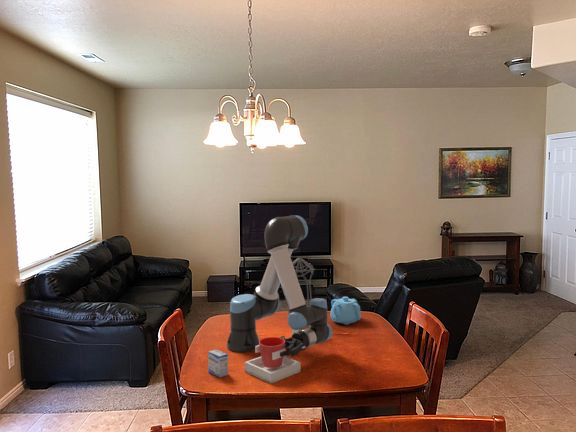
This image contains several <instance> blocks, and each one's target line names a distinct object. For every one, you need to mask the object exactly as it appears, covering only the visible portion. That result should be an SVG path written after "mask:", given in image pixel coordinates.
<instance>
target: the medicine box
mask: <svg viewBox="0 0 576 432" xmlns="http://www.w3.org/2000/svg"><path fill="white" fill-rule="evenodd" d="M207 364H208V365H207V366H208V367H207V368H208V370H207V372H208V373H209V374H211V375H214V376H215V377H217V378H222V377H225V376H228V375H229V355H228V353H226V352H223V351H221V350H219V349H212V350H209V351H207Z"/></svg>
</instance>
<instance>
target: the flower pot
mask: <svg viewBox="0 0 576 432" xmlns="http://www.w3.org/2000/svg"><path fill="white" fill-rule="evenodd" d="M279 337H280V336H279ZM279 337H278V336H269V337H267V336H266V337H264V338H261V339H259V346H260V352H259V353H260V357H262V362H263V365H264V366H265V367H267V368H277V367H279V366H281V365H282V361H283V357H280V358H278V359H275V360H272V353H273V352H276V351H279V350H282V349H286V347H285V340H284V339H282V338H279Z"/></svg>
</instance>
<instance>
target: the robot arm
mask: <svg viewBox="0 0 576 432" xmlns="http://www.w3.org/2000/svg"><path fill="white" fill-rule="evenodd" d="M308 226H309V225H307V221H306V220H305V219H304V218H303V217H302V216H300V215H293V214H292V215H288V216H276V217H274V218H272V219H271V220H269V221H268V222H267V224H266V226H265V229H264V235H263V237H264V244H265V248H266V250H267V253H268V254H270V258H269V260H268V264H267V266H266V269H265V272H264V274H263V277H262V279H261V283H260V285H258V286H256V287H255V290H254V293H253V294H250V293H243V294H238V295H236V296H234V297H232V298H231V299H230V305H229V317H230V332H229V334H228V338H227V343H226V348H227V349H228V350H229V351H232V352H237V353H245V352H246V353H247V352H252V351H254V352H255V354H258V353H261V352H260V346H259V341H260V338H259V335H258V333H257V328H256V327H257V324H256V323H257V321H261V320H262V319H265V318H270V317H271V316H273V315H274V314H276V313H277V312H278V311H279V308H280V305H281V301H280V294H279V292H278V290H279V287H280V286H281V289H282V292H283V294H284V298H285V300H286V304H287V306H288V311H289V310H290V313H289V316H288V315H287V324H288V326H289V327H290V329H291V330H292V329H294V330H299V329H303V328H305V327H307V326H309V325H310V328H308V329H305V330H302V331H299V332H296V333H294V334H292V335H291V337H290V336H289V337H285V336H284V335H283V336H279V338H282V339H284V340H285V348H284V349H282V350H279V351H276V352H273V353H272V360H275V359H278V358H280V357H283V356H286V357H289V356H290V357H295V356H296V355H298V354H299V353H301V352H302V351H305V350H306V349H309V348H310V347H312V346H315V345H318V344H321V343H325V342H326V341H328V340H330V339H332V336H333V329H332V326H331V325H330V324H328V302H327V300H326V299H325V298H323V297H321V298H319V297H316V298H312V299H310V300H309V307H308V305H307V304H306V303H307V302H306V300H305V297H304V295H303V294H304V293H303V291H302V288H301V285H299V284H300V283H299V282H300V281H298V280H299V279H298V277H297V276H296V271H295V270H296V269H295V267H293V265H294V264H292V262H293V260H292V258H291V257H292V253H293V251H294V250H296V249H298V247H299V246H300V245H299V244H300V242H301V241H303V240H304V239H305V238H307V236H308V233H309V227H308ZM294 269H295V270H294Z"/></svg>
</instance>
